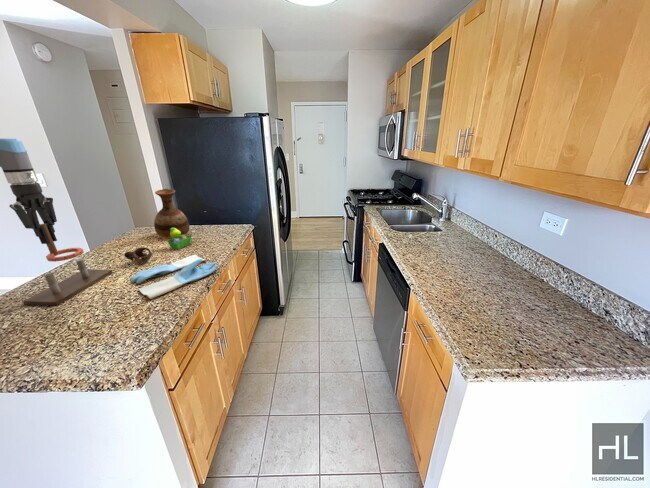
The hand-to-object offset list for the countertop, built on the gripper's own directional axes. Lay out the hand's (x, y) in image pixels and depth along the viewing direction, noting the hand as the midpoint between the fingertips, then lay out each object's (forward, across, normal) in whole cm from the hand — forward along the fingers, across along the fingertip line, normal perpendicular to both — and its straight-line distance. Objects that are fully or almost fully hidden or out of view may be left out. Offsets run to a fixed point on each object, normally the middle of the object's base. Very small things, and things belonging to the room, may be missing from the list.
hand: (49, 242), depth 105 cm
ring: (+6, 0, -5) cm, 8 cm away
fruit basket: (+20, +45, -24) cm, 55 cm away
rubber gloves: (+20, +11, -42) cm, 48 cm away
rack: (+20, -2, -4) cm, 20 cm away
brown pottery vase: (+20, +64, -8) cm, 67 cm away
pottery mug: (+20, +24, -15) cm, 34 cm away
